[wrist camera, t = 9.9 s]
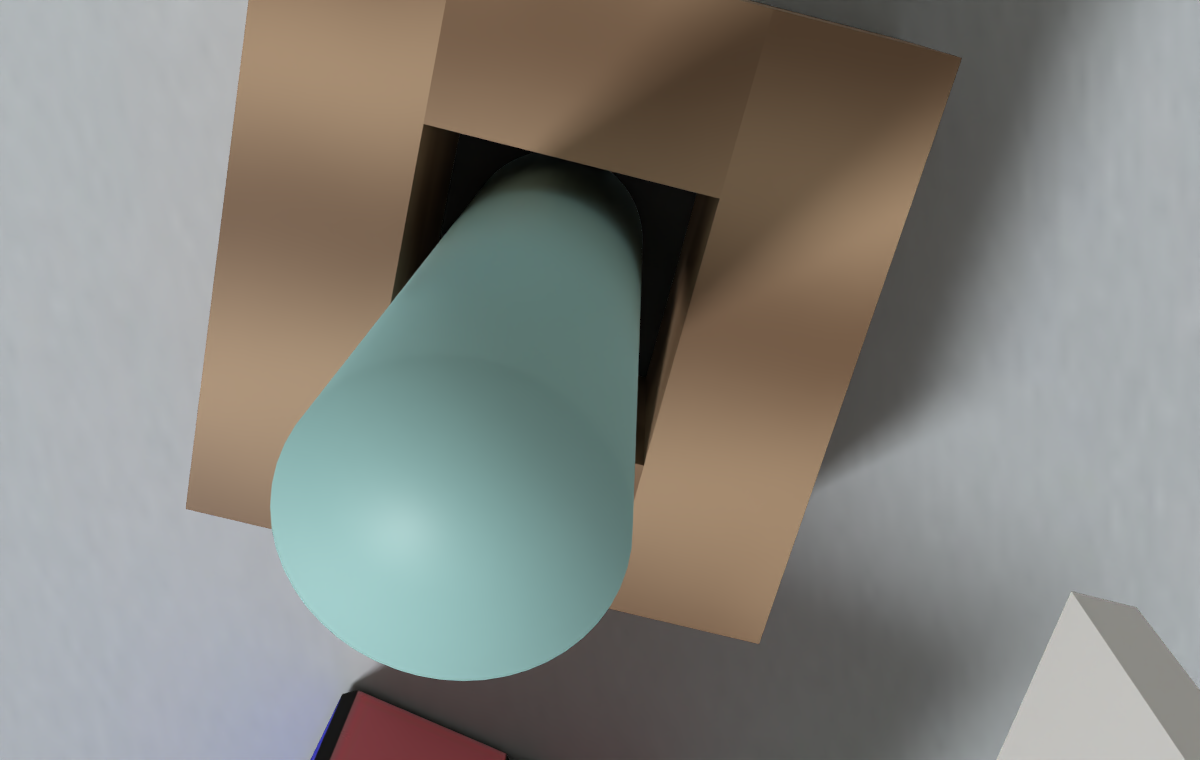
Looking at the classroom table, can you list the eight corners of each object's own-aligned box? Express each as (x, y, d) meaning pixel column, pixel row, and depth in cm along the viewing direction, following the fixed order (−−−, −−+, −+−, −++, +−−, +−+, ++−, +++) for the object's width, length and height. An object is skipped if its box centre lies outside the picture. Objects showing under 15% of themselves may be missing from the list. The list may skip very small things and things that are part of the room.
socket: (741, 529, 28) (758, 644, 23) (266, 415, 27) (185, 509, 23) (901, 40, 24) (962, 58, 19) (343, -106, 23) (263, -124, 18)
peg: (662, 175, 25) (673, 405, 12) (618, 341, 26) (585, 714, 13) (486, 130, 25) (298, 314, 12) (452, 300, 26) (248, 636, 13)
